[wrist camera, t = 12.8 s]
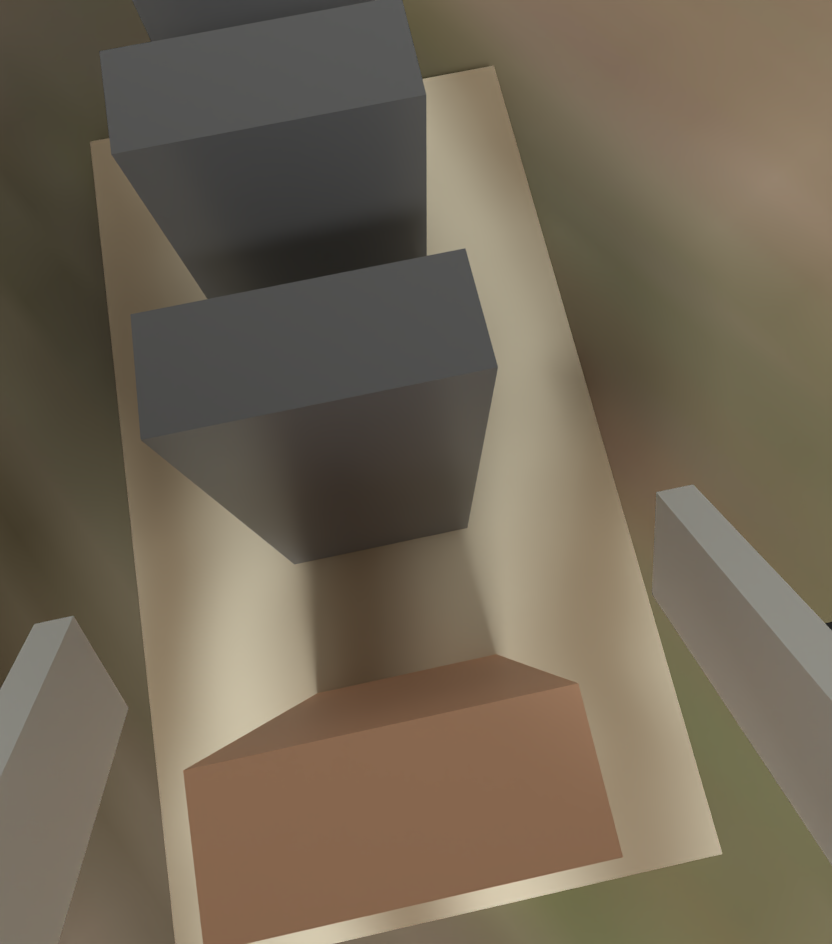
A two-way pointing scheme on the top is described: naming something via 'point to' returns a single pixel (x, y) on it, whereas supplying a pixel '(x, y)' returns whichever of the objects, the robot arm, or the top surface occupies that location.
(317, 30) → the grey rectangular slab
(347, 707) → the salmon orange block
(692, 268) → the top surface
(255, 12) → the dark grey block
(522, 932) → the top surface
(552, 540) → the birch board
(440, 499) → the dark grey block
